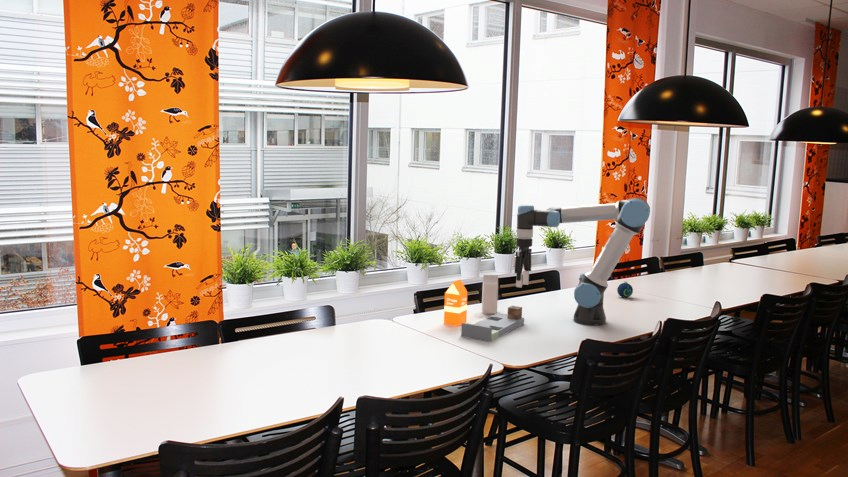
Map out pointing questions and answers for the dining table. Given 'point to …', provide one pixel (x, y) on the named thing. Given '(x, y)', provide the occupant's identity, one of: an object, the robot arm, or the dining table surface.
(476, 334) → the board
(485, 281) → the milk carton
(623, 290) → the christmas ornament
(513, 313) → the walnut cube
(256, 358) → the dining table surface
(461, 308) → the orange juice
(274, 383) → the dining table surface
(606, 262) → the robot arm
